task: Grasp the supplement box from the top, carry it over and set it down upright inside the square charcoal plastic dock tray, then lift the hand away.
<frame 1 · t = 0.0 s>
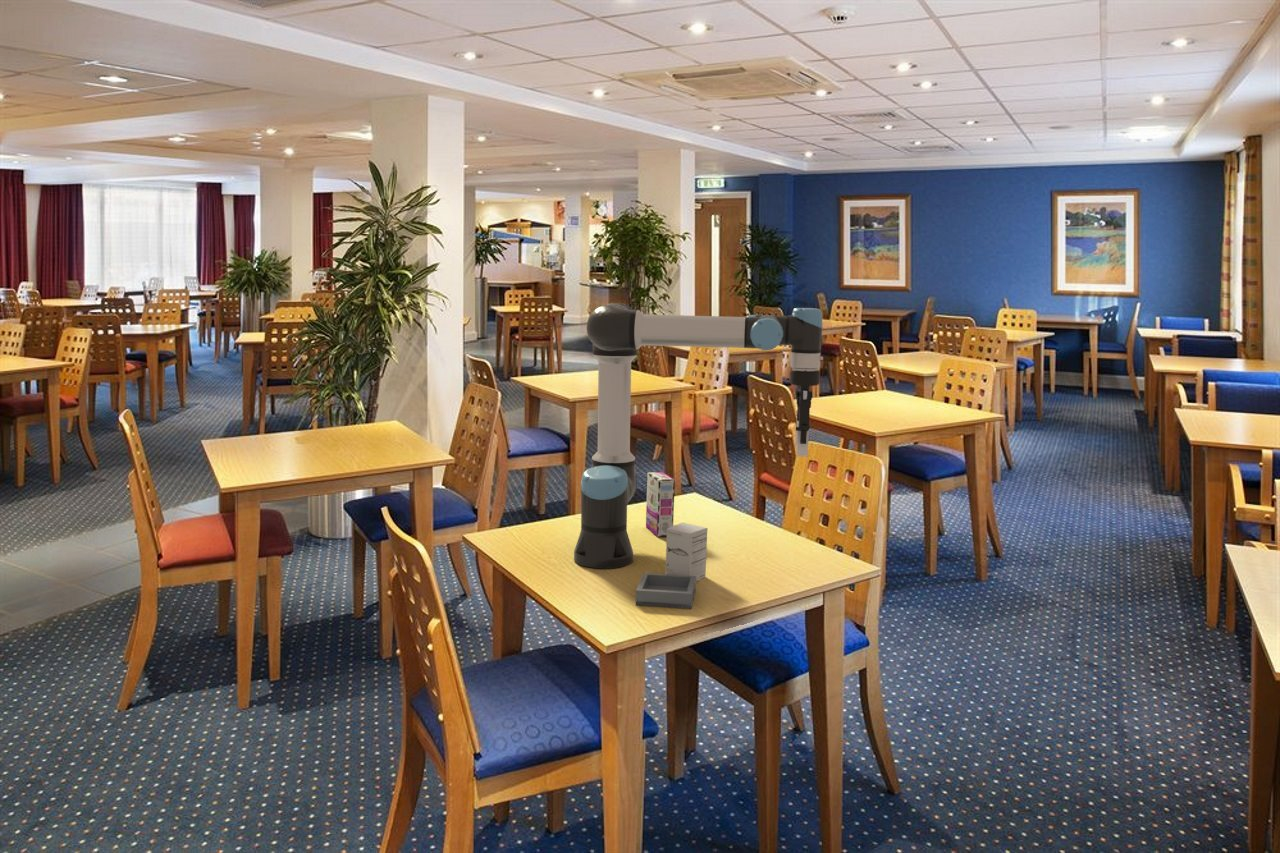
hand: (801, 451, 243), 28 cm above the table, tool pointing down, fingers open, 13 cm apart
candy bar box: (659, 532, 268), on the table
dock tray: (666, 597, 214), on the table
supplement box: (685, 578, 228), on the table
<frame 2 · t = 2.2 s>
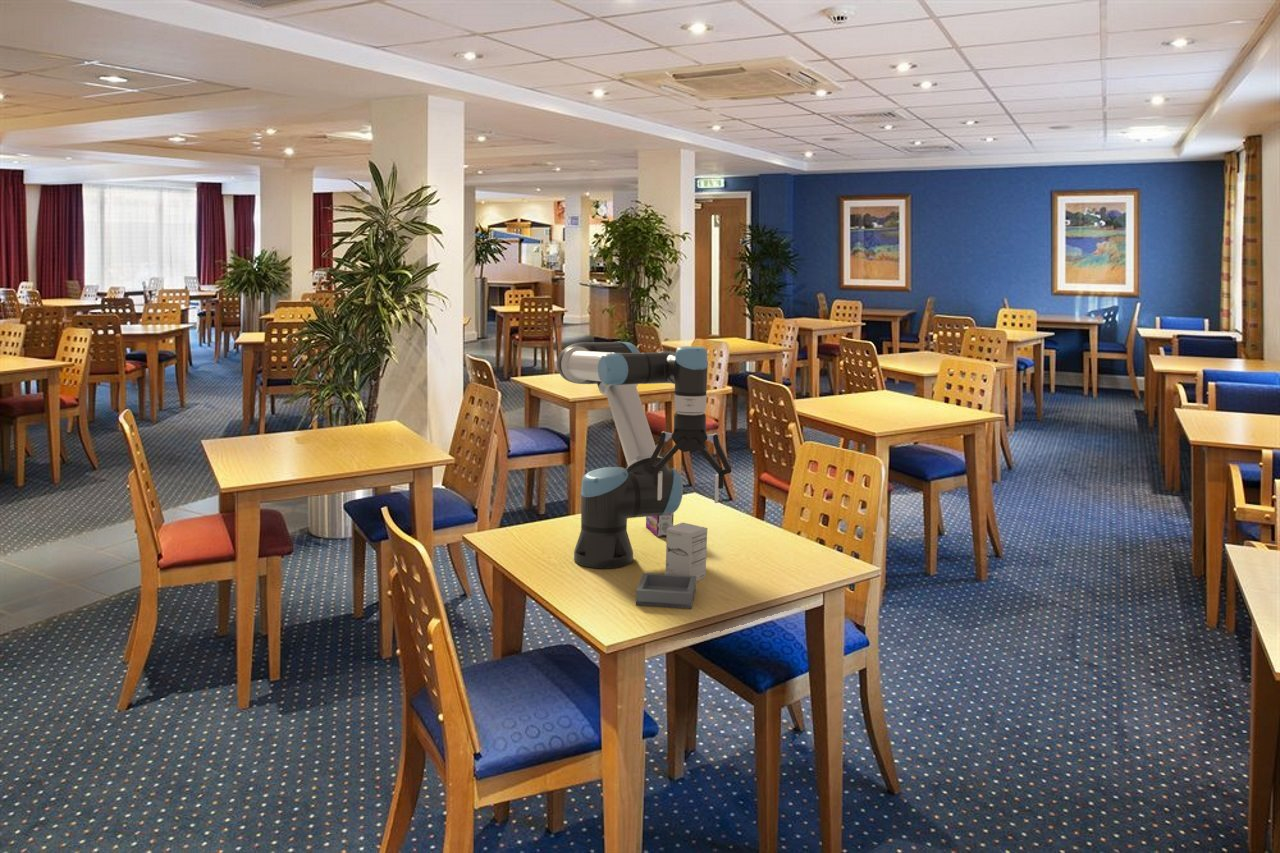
hand: (687, 500, 225), 19 cm above the table, tool pointing down, fingers open, 13 cm apart
nothing on the table moved.
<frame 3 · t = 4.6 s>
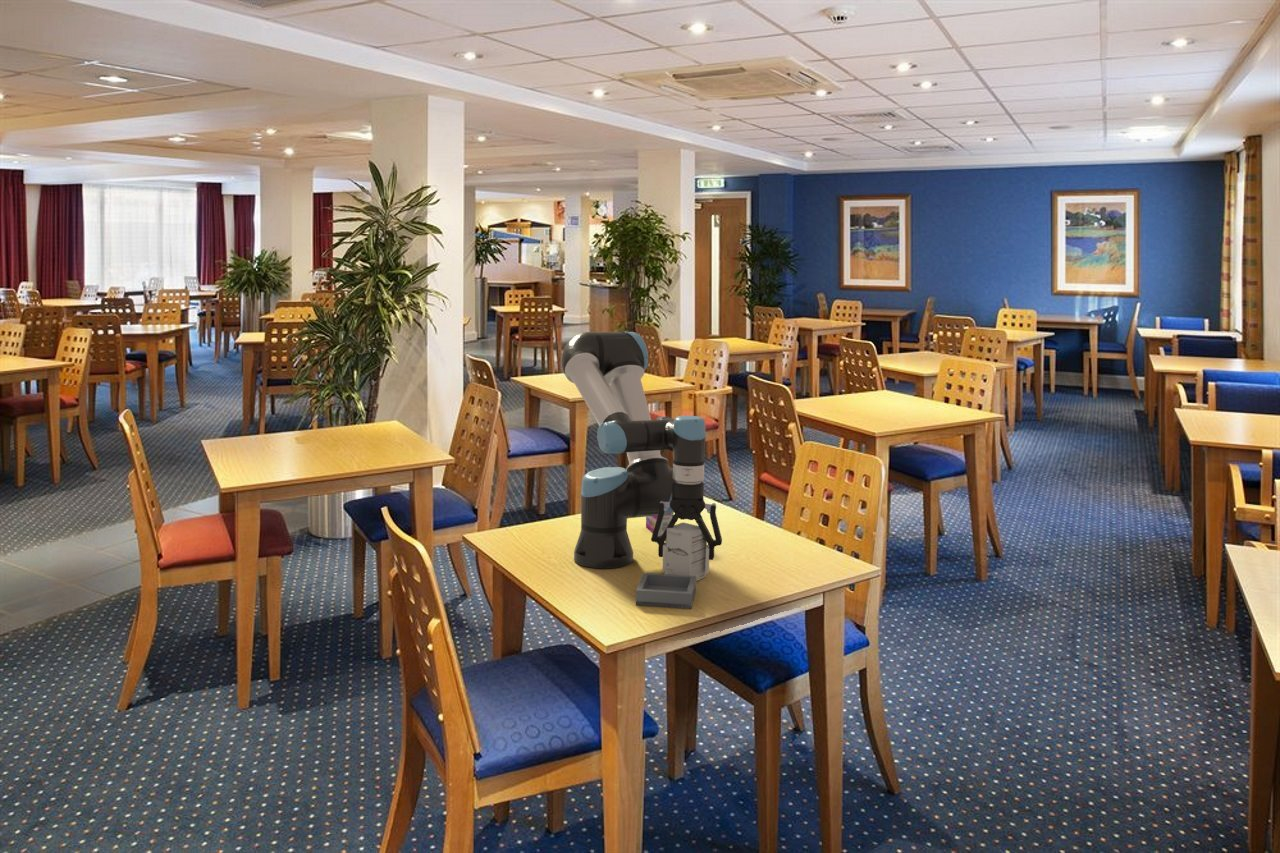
hand: (685, 571, 228), 2 cm above the table, tool pointing down, fingers closed on supplement box, 10 cm apart
supplement box: (685, 578, 228), on the table, touching gripper
everything else where it was.
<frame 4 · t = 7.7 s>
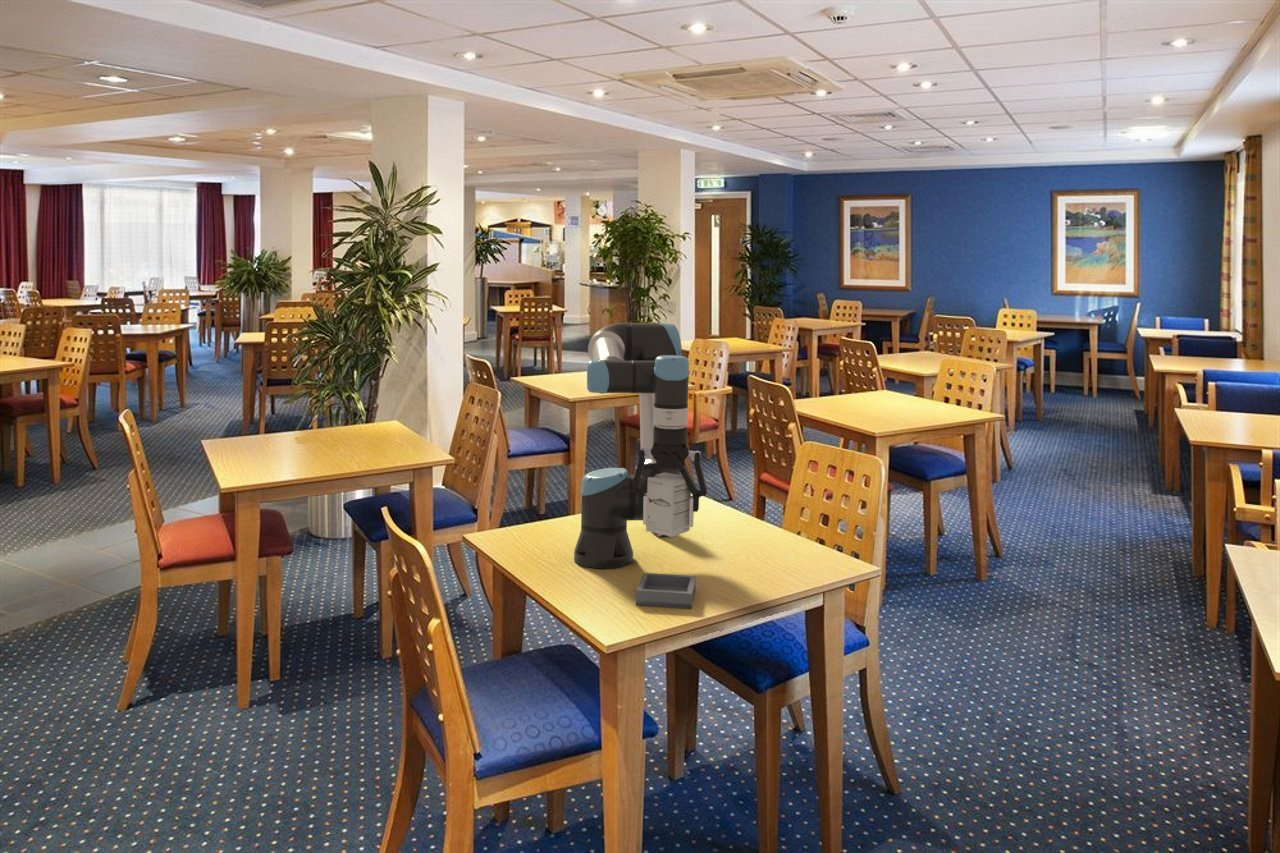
hand: (668, 524, 211), 17 cm above the table, tool pointing down, fingers closed on supplement box, 10 cm apart
supplement box: (668, 532, 211), point 15 cm above the table, touching gripper
everything else where it was.
when the fingers open (4 cm above the table, at t = 10.9 s): supplement box drops 1 cm, resting on dock tray.
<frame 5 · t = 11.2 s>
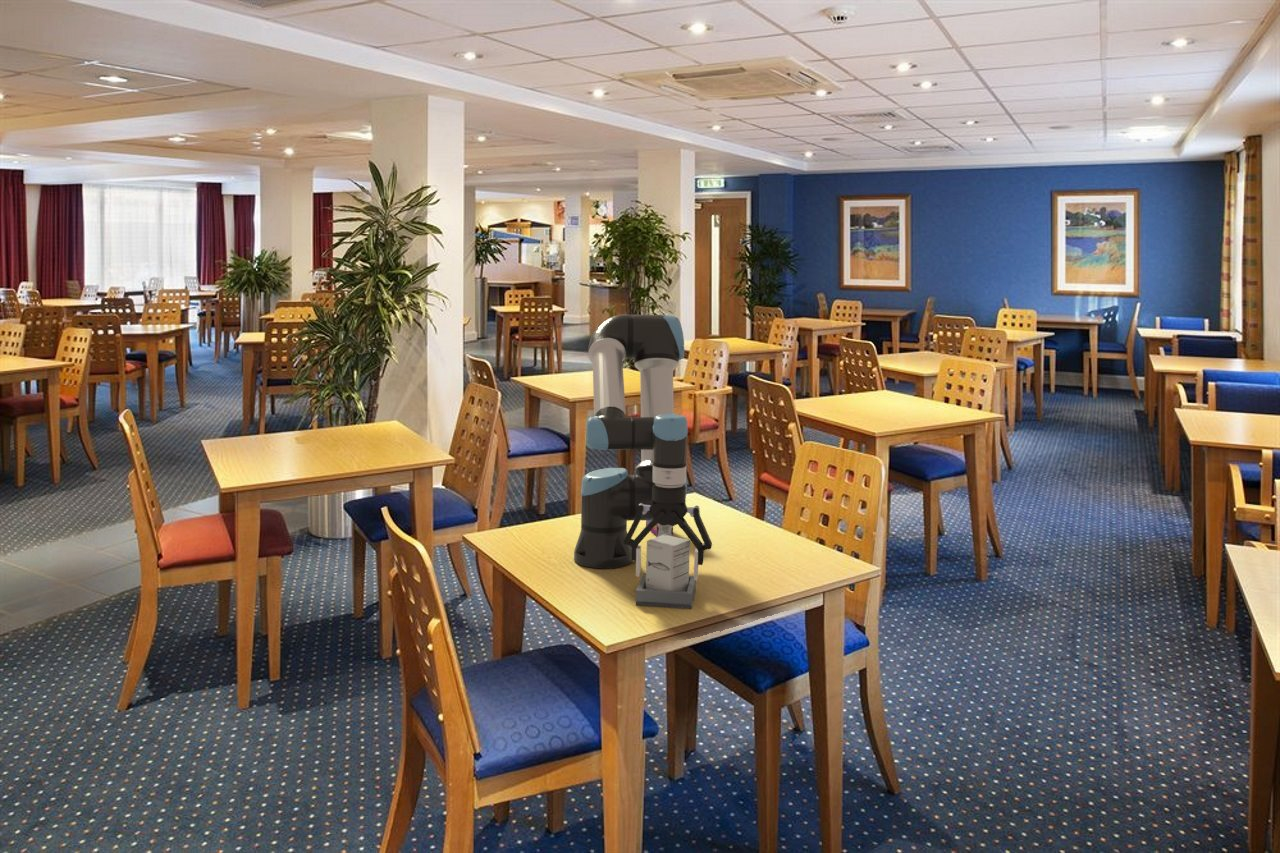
hand: (667, 576, 213), 5 cm above the table, tool pointing down, fingers open, 12 cm apart
supplement box: (667, 594, 214), point 1 cm above the table, touching dock tray
everything else where it was.
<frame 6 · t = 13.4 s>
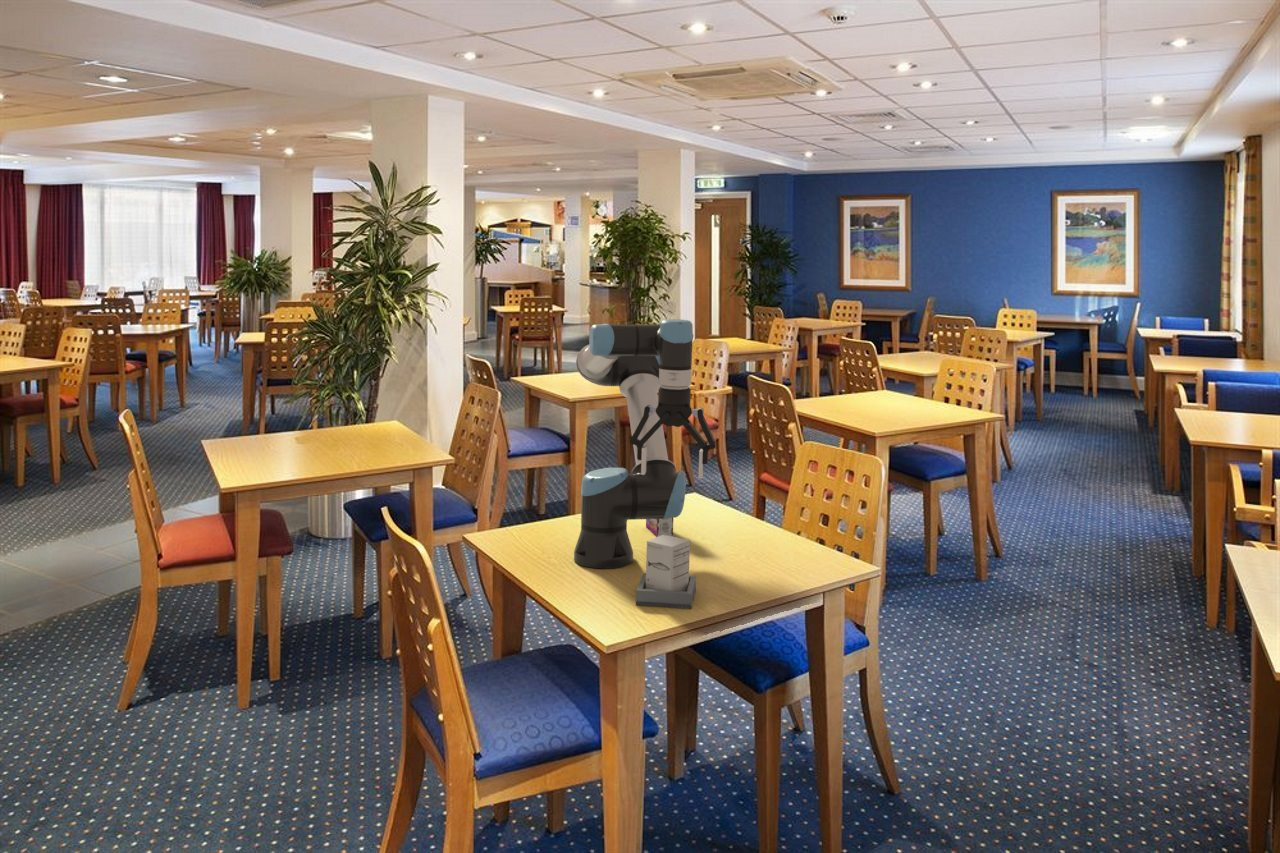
hand: (671, 475, 223), 26 cm above the table, tool pointing down, fingers open, 13 cm apart
nothing on the table moved.
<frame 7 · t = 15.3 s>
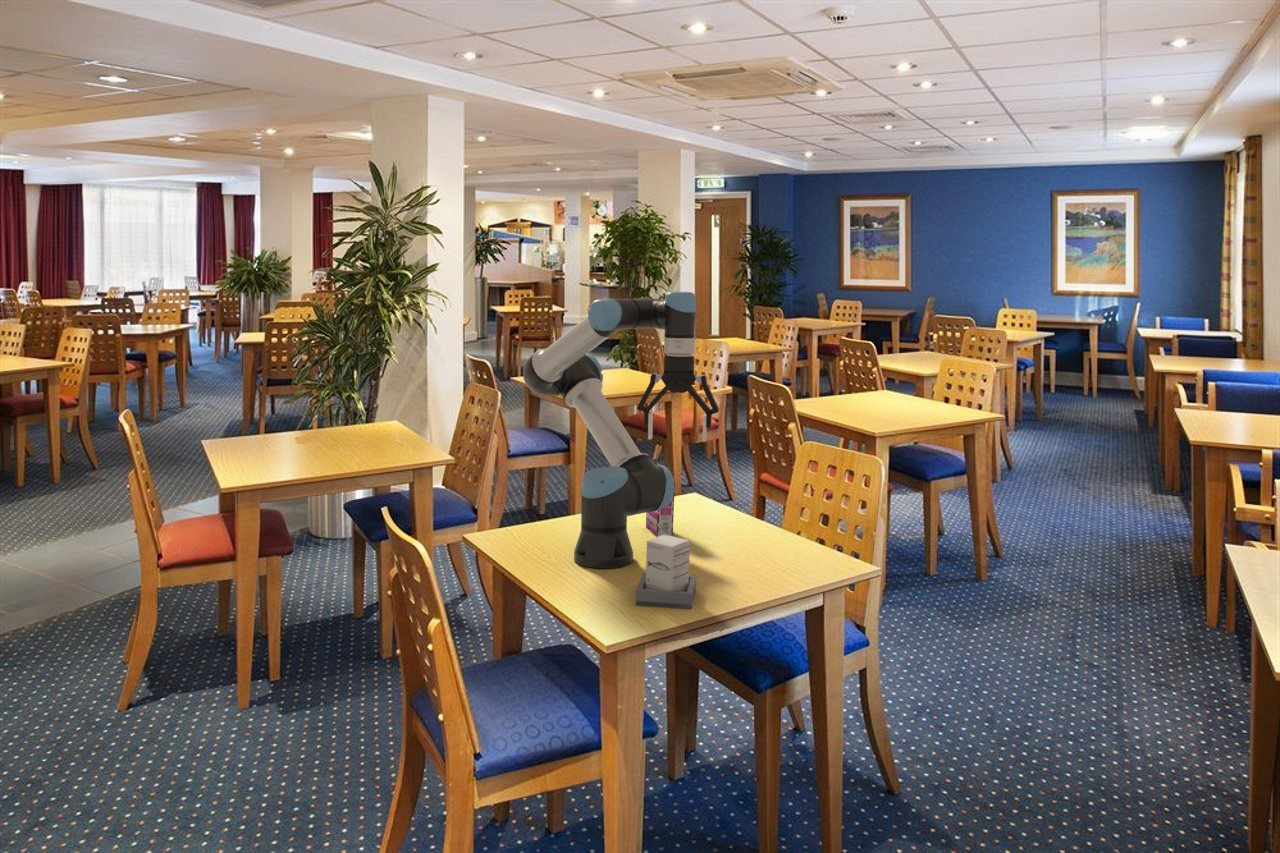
hand: (677, 439, 235), 32 cm above the table, tool pointing down, fingers open, 13 cm apart
nothing on the table moved.
at the end: supplement box 0.1 cm off-centre on the dock tray, point 0.8 cm above the dock tray's base; supplement box tilted 0°; the gripper is holding nothing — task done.
